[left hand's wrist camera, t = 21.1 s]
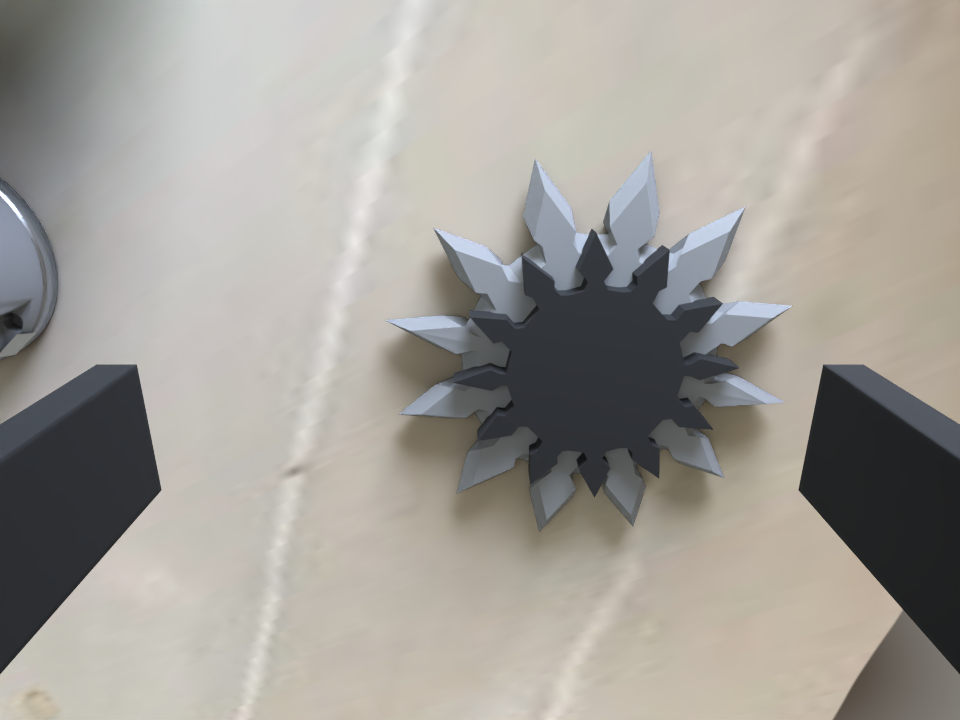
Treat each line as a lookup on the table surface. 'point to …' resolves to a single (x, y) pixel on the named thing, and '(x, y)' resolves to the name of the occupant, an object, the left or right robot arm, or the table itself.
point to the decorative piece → (591, 348)
